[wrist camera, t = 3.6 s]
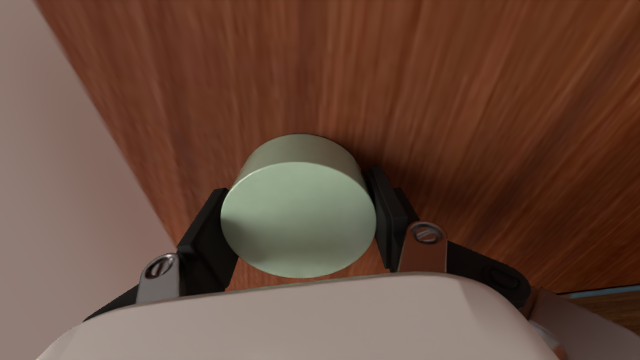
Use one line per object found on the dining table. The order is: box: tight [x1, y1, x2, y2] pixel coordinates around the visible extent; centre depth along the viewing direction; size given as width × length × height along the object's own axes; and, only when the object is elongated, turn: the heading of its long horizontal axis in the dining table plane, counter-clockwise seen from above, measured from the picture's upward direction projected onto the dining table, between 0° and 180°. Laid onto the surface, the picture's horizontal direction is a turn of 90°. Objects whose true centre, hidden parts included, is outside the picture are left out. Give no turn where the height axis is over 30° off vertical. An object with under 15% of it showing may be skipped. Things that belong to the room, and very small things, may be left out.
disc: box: [220, 134, 377, 278], centre depth 11 cm, size 7×7×3 cm
